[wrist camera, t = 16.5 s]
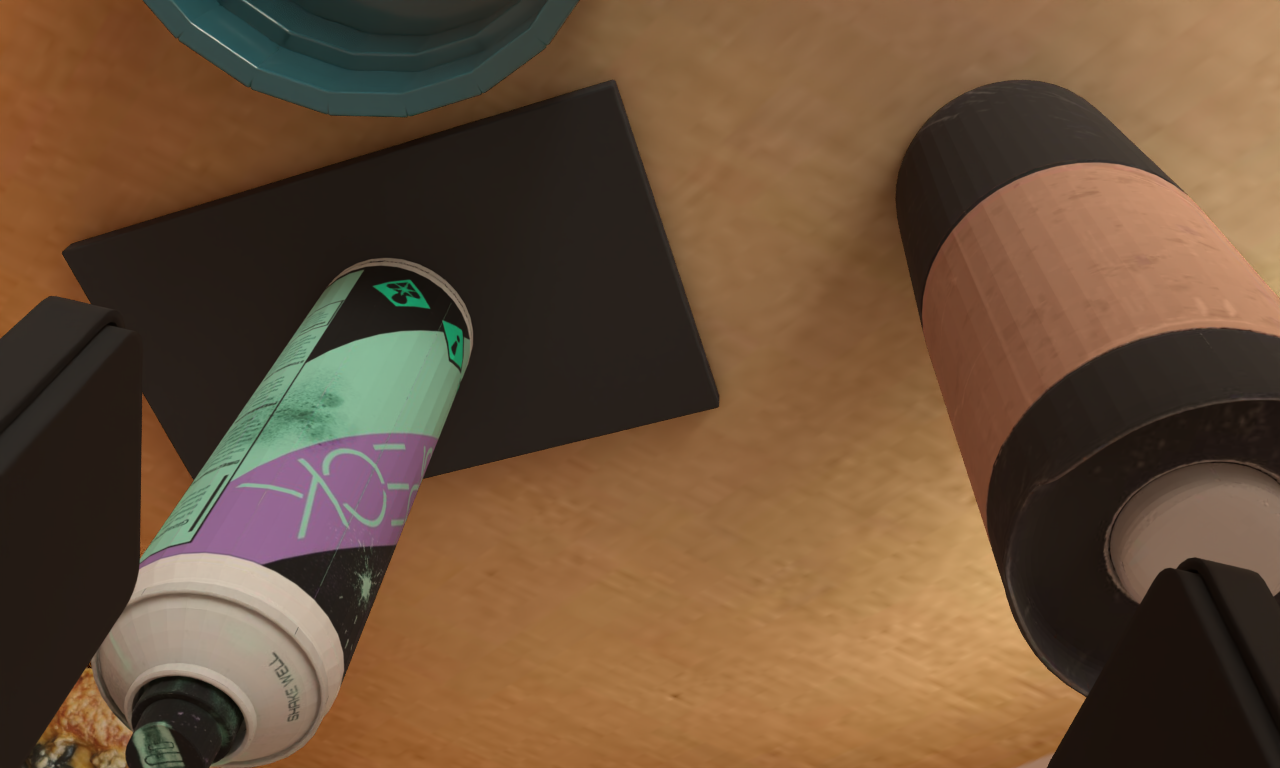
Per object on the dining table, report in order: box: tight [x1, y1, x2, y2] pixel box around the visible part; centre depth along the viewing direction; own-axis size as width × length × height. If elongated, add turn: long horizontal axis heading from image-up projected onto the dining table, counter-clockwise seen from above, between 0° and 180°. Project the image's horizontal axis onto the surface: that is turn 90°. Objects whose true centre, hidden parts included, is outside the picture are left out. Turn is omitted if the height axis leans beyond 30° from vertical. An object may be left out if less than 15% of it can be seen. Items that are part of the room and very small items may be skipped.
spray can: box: [91, 258, 473, 768], centre depth 34 cm, size 6×6×20 cm
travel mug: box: [896, 80, 1280, 697], centre depth 31 cm, size 8×8×20 cm
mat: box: [62, 80, 719, 480], centre depth 43 cm, size 12×20×1 cm, turn 108°
